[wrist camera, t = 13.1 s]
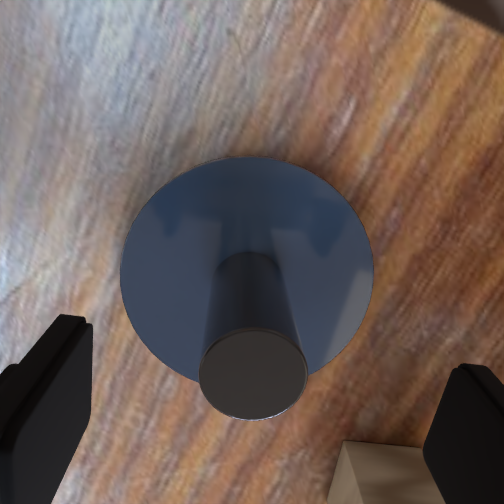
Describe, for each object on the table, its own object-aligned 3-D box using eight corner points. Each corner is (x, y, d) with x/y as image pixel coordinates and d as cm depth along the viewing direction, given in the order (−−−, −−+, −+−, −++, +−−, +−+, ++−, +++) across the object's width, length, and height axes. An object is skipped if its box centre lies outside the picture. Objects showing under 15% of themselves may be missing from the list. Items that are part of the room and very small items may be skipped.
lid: (323, 112, 17) (386, 119, 10) (393, 331, 21) (476, 455, 14) (81, 210, 18) (-21, 281, 11) (187, 404, 22) (162, 554, 15)
